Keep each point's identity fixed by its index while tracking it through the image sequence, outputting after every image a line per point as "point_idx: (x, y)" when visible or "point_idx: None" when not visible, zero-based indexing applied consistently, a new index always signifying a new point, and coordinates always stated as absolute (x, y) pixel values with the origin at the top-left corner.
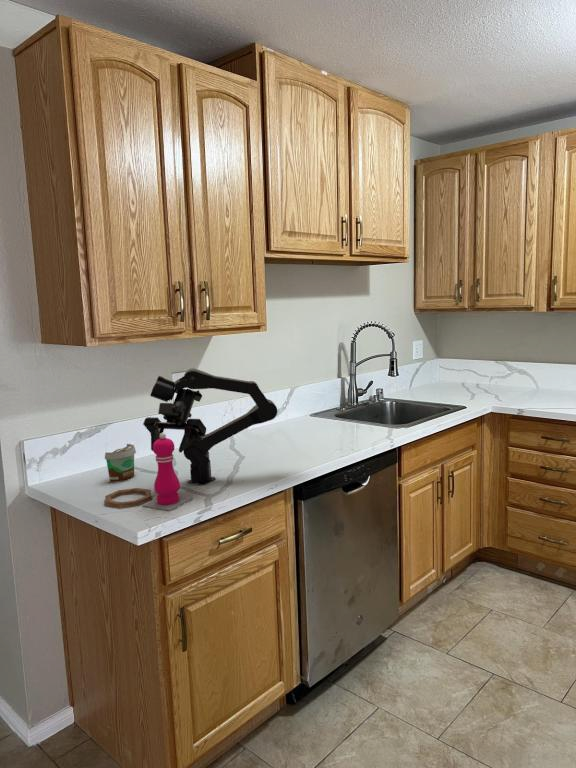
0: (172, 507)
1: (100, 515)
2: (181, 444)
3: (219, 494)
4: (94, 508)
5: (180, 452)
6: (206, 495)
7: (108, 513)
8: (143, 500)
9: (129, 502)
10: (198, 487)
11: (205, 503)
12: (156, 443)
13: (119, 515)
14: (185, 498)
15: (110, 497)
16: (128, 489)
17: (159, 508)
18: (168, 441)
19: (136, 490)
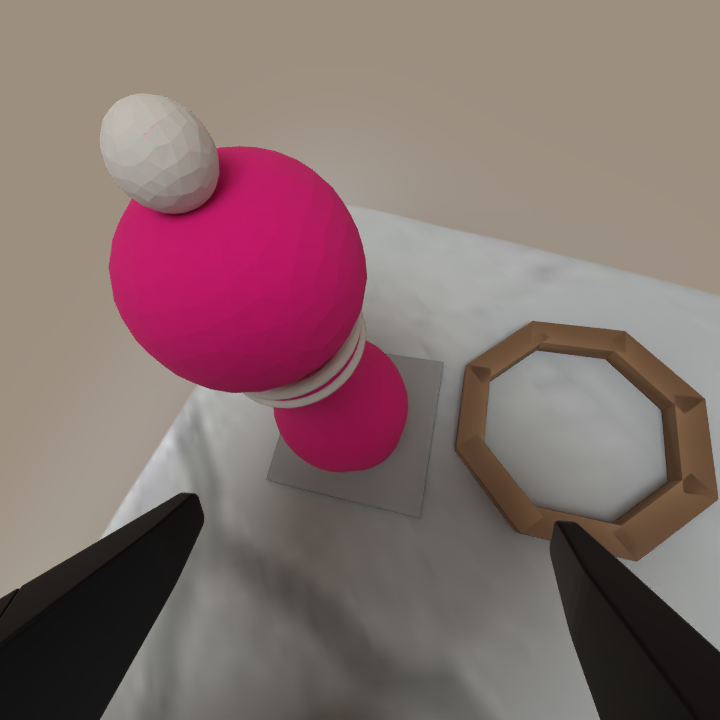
0: None
1: (546, 259)
2: (118, 537)
3: None
4: (639, 307)
5: (196, 514)
6: (223, 547)
7: (531, 280)
8: (462, 393)
9: (501, 346)
10: (300, 688)
11: (205, 445)
12: (265, 149)
13: (474, 275)
14: (296, 470)
15: (653, 384)
16: (666, 522)
17: None
18: (129, 205)
19: (607, 523)
